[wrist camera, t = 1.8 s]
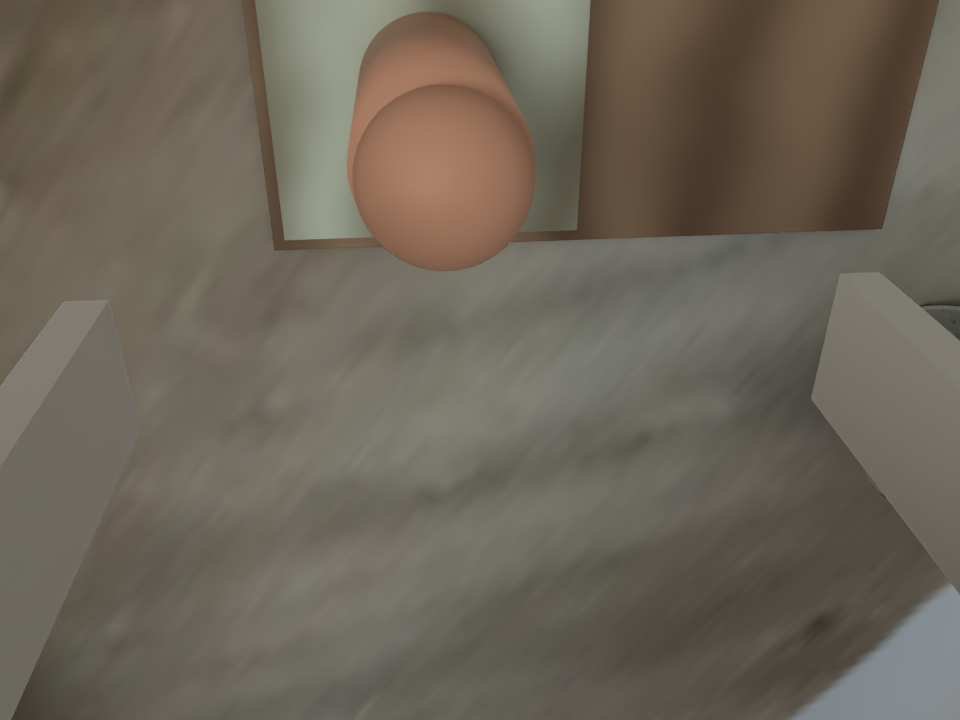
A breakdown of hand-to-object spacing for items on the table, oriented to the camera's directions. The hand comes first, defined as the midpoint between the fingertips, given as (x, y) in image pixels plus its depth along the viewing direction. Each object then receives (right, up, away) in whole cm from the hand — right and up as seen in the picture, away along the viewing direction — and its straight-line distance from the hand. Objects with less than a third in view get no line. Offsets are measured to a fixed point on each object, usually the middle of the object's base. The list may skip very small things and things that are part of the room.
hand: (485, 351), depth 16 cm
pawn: (-2, +11, +19) cm, 22 cm away
